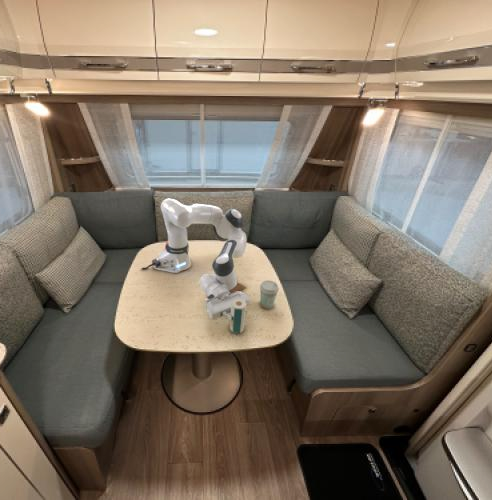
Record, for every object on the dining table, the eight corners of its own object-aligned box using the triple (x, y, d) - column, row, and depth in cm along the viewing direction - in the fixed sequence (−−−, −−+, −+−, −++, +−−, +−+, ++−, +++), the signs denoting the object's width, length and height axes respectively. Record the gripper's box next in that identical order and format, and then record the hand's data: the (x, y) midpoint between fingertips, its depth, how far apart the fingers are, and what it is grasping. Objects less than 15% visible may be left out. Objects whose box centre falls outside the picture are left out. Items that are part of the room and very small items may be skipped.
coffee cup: (264, 313, 125) (267, 293, 119) (254, 301, 132) (256, 282, 126) (279, 307, 128) (282, 288, 122) (269, 297, 135) (271, 278, 129)
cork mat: (202, 285, 144) (202, 284, 143) (219, 274, 152) (219, 273, 152) (228, 300, 133) (228, 299, 132) (245, 287, 142) (245, 286, 141)
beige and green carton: (230, 322, 120) (232, 297, 112) (243, 323, 119) (246, 299, 112) (229, 332, 114) (230, 307, 107) (243, 334, 113) (245, 309, 106)
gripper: (239, 295, 128) (257, 312, 118) (202, 310, 120) (218, 330, 109) (239, 284, 125) (259, 302, 115) (202, 299, 116) (219, 319, 106)
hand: (239, 316), depth 112 cm, fingers closed on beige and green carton, 6 cm apart
